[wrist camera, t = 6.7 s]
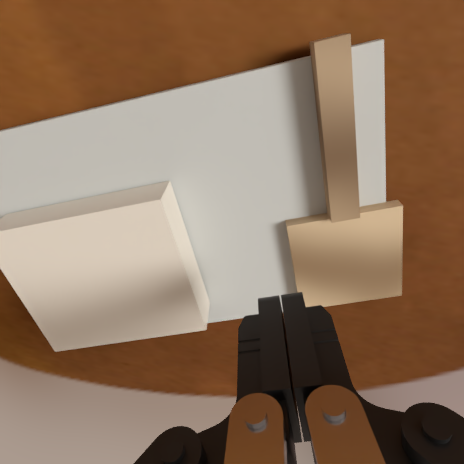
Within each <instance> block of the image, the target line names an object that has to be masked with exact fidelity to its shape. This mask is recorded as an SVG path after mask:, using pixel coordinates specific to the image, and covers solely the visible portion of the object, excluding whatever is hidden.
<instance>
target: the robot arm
mask: <svg viewBox="0 0 464 464" xmlns="http://www.w3.org/2000/svg"><path fill="white" fill-rule="evenodd" d="M281 300H282V307H283V312H282V307H281V302H280V297H279V295H278V296H271V297H264V298H258V313H259V314H255V315H248V316H245V317H244V319H243V320H242V322H241V324H240V326H239V331H238V342H239V344H238V379H237V400H236V404H235V405H234V407H233V408H232V410H231V413H230V414H229V415H228V417H227V418H226V419H224V420H223V421H222V422H221V423H219V424H217V425H216V426H213V427H211V428H209V429H207V430H204V431H202V432H200V433H198V434H197V433H196V432H195V431H193V430H192V429H191V428H188V427H184V426H177V427H173V428H170V429H168V430H166V431H165V432H163V433H162V434H160V435H159V436H158V437H157V438H156V439H155V440H154V442H153V443H152V444H151V445H150V446H149V447H148V448H147V449H146V451H145V452H144V453H143V454H142V455H141V456H140V457H139V458H138V459H137V461H136V462H135V463H134V464H297V461H296V453H295V445H294V443H297V442H302V439H301V432H300V425H299V418H298V412H299V417H300V422H301V427H302V432H303V437H304V442H305V441H311V446H312V451H313V456H314V462H315V464H464V418H463V417H462V416H460V415H458V414H457V413H455V412H454V411H452V410H450V409H448V408H447V407H444V406H442V405H439V404H435V403H419V404H415V405H413V406H411V407H409V408H408V409H407V410H406V412H400V411H394V410H389V409H385V408H381V407H378V406H375V405H373V404H371V403H369V402H367V401H366V400H364V399H363V398H362V397H361V396H360V395H359V394H358V393H357V392H356V390H355V389H354V387H353V385H352V382H351V379H350V376H349V373H348V369H347V366H346V363H345V360H344V356H343V353H342V350H341V346H340V343H339V341H338V337H337V333H336V331H335V327H334V324H333V320H332V317H331V315H330V314H329V313H328V312H327V311H326V310H325V309H324V308H323V307H322V306H321V305H318V306H311V307H306V306H305V302H304V298H303V293H302V292H297V293H291V294H284V295H281ZM283 314H284V318H283ZM284 322H285V323H284ZM296 402H297V403H296ZM297 407H298V411H297Z"/></svg>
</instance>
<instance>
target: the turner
mask: <svg viewBox="0 0 464 464" xmlns="http://www.w3.org/2000/svg"><path fill="white" fill-rule="evenodd" d="M309 44H310V54H311V64H312V73H313V83H314V93H315V102H316V112H317V122H318V132H319V141H320V151H321V161H322V170H323V180H324V190H325V199H326V209H327V213H322V214H317V215H311V216H306V217H300V218H295V219H289V220H285V222H286V228H287V234H288V239H289V245H290V251H291V257H292V263H293V269H294V275H295V281H296V287H297V292H302V293H303V298H304V302H305V306H306V307H311V306H318V305H321V306H322V307H326V306H333V305H339V304H346V303H353V302H360V301H367V300H374V299H380V298H387V297H394V296H401V295H402V241H403V205H402V204H401V203H400V202H399V201H398V200H394V201H388V202H383V203H377V204H372V205H366V206H361V207H360V204H359V186H358V167H357V148H356V129H355V110H354V91H353V72H352V53H351V34H339V35H335V36H331V37H327V38H323V39H319V40H315V41H311V42H309Z"/></svg>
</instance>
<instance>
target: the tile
mask: <svg viewBox="0 0 464 464" xmlns="http://www.w3.org/2000/svg"><path fill="white" fill-rule="evenodd" d="M0 269H1V270H2V272H3V273H4V275H5V276H6V278H7V280H8V281H9V283H10V284H11V286H12V287H13V289H14V290H15V292H16V293H17V295H18V296H19V298H20V299H21V301H22V302H23V304H24V305H25V307H26V308H27V310H28V311H29V313H30V314H31V316H32V318H33V319H34V321H35V322H36V324H37V325H38V327H39V328H40V330H41V331H42V333H43V334H44V336H45V337H46V339H47V340H48V342H49V343H50V345H51V346H52V348H53V349H54V351H55V352H57V351H64V350H71V349H78V348H85V347H92V346H99V345H106V344H113V343H120V342H127V341H134V340H140V339H147V338H154V337H161V336H168V335H175V334H182V333H189V332H196V331H203V330H206V329H207V321H208V313H209V305H210V301H209V298H208V295H207V292H206V289H205V286H204V283H203V280H202V277H201V274H200V271H199V268H198V264H197V261H196V258H195V255H194V252H193V249H192V246H191V243H190V240H189V237H188V234H187V231H186V228H185V225H184V222H183V219H182V215H181V212H180V209H179V206H178V203H177V200H176V197H175V194H174V191H173V188H172V185H171V182H170V181H165V182H161V183H156V184H151V185H146V186H141V187H136V188H131V189H126V190H122V191H117V192H112V193H107V194H102V195H97V196H92V197H87V198H83V199H78V200H73V201H68V202H63V203H58V204H53V205H48V206H43V207H39V208H34V209H29V210H24V211H19V212H14V213H9V214H6V215H5V216H3V217H2V218H1V219H0Z"/></svg>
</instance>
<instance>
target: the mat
mask: <svg viewBox="0 0 464 464" xmlns="http://www.w3.org/2000/svg"><path fill="white" fill-rule="evenodd" d="M351 53H352V72H353V91H354V110H355V129H356V148H357V167H358V186H359V204H360V207H361V206H366V205H372V204H377V203H383V202H386V165H385V87H384V39H377V40H373V41H369V42H365V43H361V44H356V45H352V46H351ZM165 181H170V182H171V185H172V188H173V191H174V194H175V197H176V200H177V203H178V206H179V209H180V212H181V215H182V219H183V222H184V225H185V228H186V231H187V234H188V237H189V240H190V243H191V246H192V249H193V252H194V255H195V258H196V261H197V264H198V268H199V271H200V274H201V277H202V280H203V283H204V286H205V289H206V292H207V295H208V298H209V301H210V305H209V313H208V321H207V323H212V322H219V321H225V320H232V319H239V318H244V317H245V316H248V315H255V314H259V313H258V298H264V297H271V296H278V295H279V297H280V302H281V307H282V300H281V295H284V294H291V293H297V287H296V281H295V275H294V269H293V263H292V257H291V251H290V245H289V239H288V234H287V228H286V222H285V220H289V219H295V218H300V217H306V216H311V215H317V214H322V213H327V209H326V199H325V190H324V180H323V170H322V161H321V151H320V141H319V132H318V122H317V112H316V102H315V93H314V83H313V73H312V64H311V56H307V57H302V58H298V59H294V60H290V61H286V62H282V63H277V64H273V65H269V66H265V67H261V68H257V69H253V70H248V71H244V72H240V73H236V74H232V75H228V76H223V77H219V78H215V79H211V80H207V81H203V82H199V83H194V84H190V85H186V86H182V87H178V88H174V89H170V90H165V91H161V92H157V93H153V94H149V95H145V96H140V97H136V98H132V99H128V100H124V101H120V102H116V103H111V104H107V105H103V106H99V107H95V108H91V109H86V110H82V111H78V112H74V113H70V114H66V115H62V116H57V117H53V118H49V119H45V120H41V121H37V122H33V123H28V124H24V125H20V126H16V127H12V128H8V129H3V130H0V219H1V218H2V217H3V216H5V215H6V214H9V213H14V212H19V211H24V210H29V209H34V208H39V207H43V206H48V205H53V204H58V203H63V202H68V201H73V200H78V199H83V198H87V197H92V196H97V195H102V194H107V193H112V192H117V191H122V190H126V189H131V188H136V187H141V186H146V185H151V184H156V183H161V182H165ZM282 312H283V307H282Z"/></svg>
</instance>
